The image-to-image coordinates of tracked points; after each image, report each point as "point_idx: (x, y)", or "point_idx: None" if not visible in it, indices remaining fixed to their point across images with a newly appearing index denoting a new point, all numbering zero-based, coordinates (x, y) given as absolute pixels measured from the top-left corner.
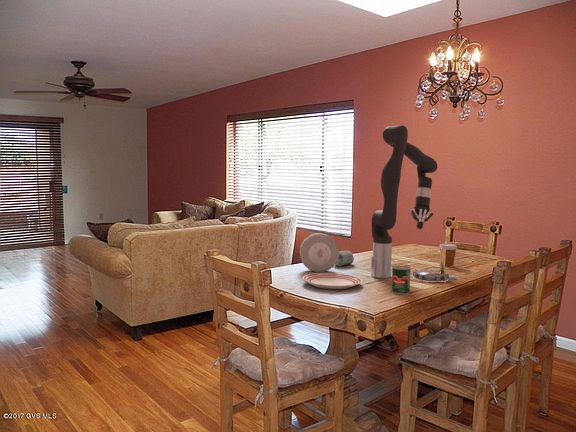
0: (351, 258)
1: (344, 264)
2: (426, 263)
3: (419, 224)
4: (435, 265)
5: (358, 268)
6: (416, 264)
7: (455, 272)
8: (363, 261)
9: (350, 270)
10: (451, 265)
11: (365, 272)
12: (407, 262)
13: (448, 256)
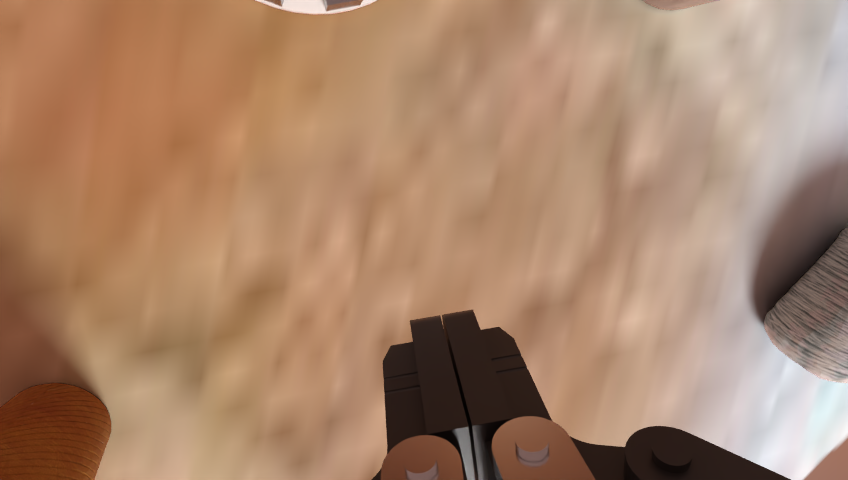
0: (821, 287)
1: (828, 249)
2: (232, 475)
3: (493, 367)
4: (165, 419)
5: (751, 198)
6: (321, 419)
7: (8, 159)
8: None
9: (815, 125)
10: (14, 397)
11: (744, 69)
12: (377, 472)
13: (4, 432)
